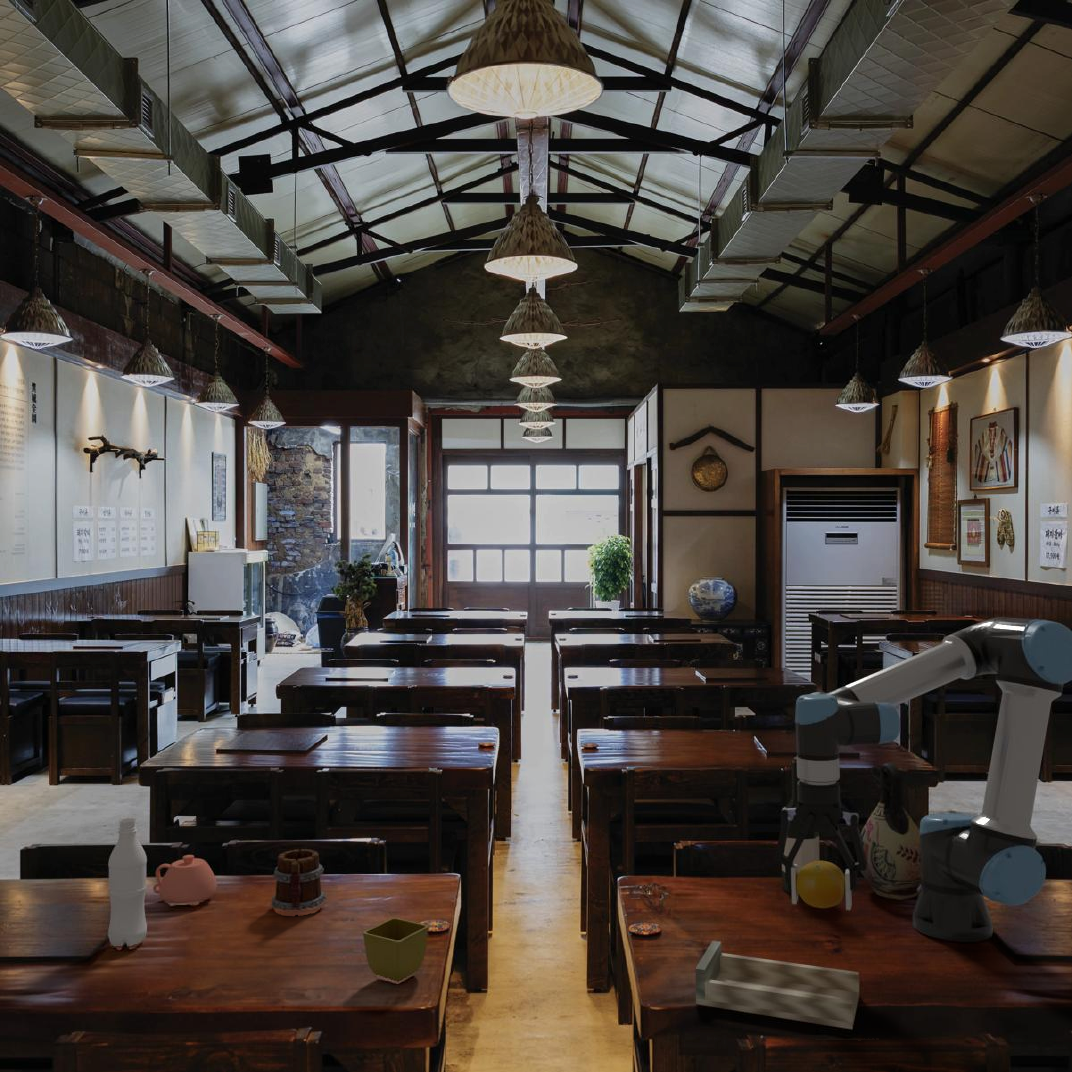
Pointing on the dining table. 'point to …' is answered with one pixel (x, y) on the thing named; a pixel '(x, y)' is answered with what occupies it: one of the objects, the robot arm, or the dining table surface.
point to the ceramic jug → (891, 841)
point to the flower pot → (396, 948)
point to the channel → (777, 988)
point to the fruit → (821, 884)
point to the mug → (298, 880)
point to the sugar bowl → (186, 881)
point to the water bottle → (127, 887)
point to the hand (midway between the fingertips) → (821, 904)
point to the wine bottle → (811, 841)
